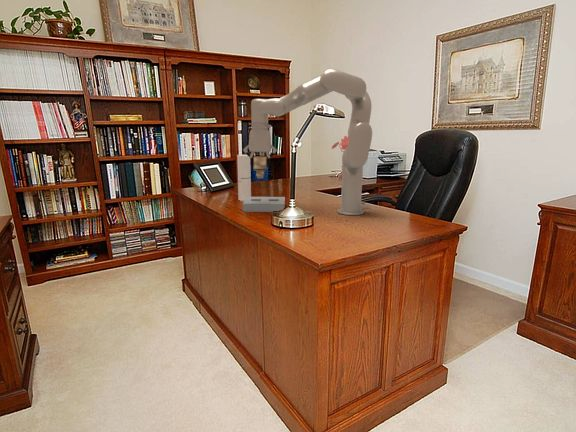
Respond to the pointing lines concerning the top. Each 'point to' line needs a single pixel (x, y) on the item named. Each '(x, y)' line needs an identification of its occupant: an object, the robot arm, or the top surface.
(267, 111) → the robot arm
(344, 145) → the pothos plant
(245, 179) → the grey square post
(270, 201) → the mortise board
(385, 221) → the top surface
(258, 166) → the birch peg
